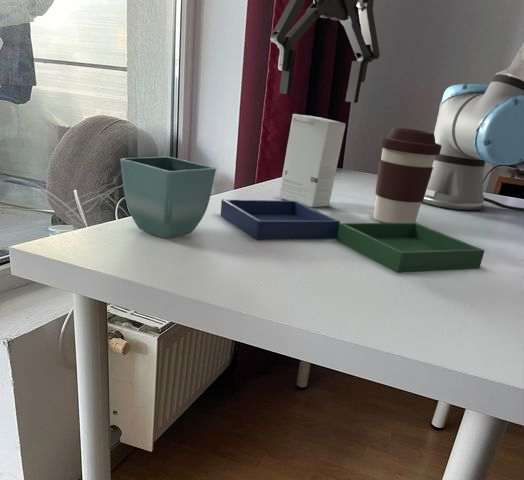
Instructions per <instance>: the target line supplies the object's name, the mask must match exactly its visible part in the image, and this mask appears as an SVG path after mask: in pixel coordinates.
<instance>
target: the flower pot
mask: <svg viewBox="0 0 524 480" xmlns="http://www.w3.org/2000/svg"><path fill="white" fill-rule="evenodd" d="M119 161H120V169H121V178H122V179H121V180H122V189H123V195H124V199H125V203H126V207H127V209H128V211H129V214H130V216H131V218H132V220H133V221H134V224H135V225H136V226H137V228H138V229H139V230H140V231H143V232H146V233H148V234H153V235H155V236H158V237H161V238H163V239H171V238H175V237H180V236H185V235H190V234H192V233H193V232H194V230H195V229H196V228H197V227H198V225H199V224H200V222H201V221H202V219H203V217H204V216H205V214H206V211H207V208H208V207H209V204H210V200H211V199H210V198H211V195H212V190H213V187H214V180H215V176H216V171H217V168H216V167H213V166H209V165H205V164H201V163H197V162H193V161H189V160H185V159H180V158H176V157H173V156H147V157H145V156H144V157H122V158H120V159H119Z"/></svg>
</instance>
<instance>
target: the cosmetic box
mask: <svg viewBox="0 0 524 480" xmlns="http://www.w3.org/2000/svg"><path fill="white" fill-rule="evenodd" d="M345 129H346V123H345V122H341V121H338V120H333V119H328V118H324V117H320V116H319V117H318V116H313V115H306V114H297V113H292V117H291V123H290V129H289V135H288V139H287V146H286V151H285V158H284V164H283V169H282V176H281V180H280V188H279V193H278V198H279V199H281V200H283V201H298V202H300V203H302V204H304V205H306V206H308V207H310V208H318V207H319V208H320V207H326V206H327V207H328V206H330V202H331V196H332V194H333V193H332V192H333V188H334V183H335V177H336V173H337V168H338V163H339V159H340V154H341V149H342V144H343V138H344V134H345Z"/></svg>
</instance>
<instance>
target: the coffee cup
mask: <svg viewBox="0 0 524 480" xmlns="http://www.w3.org/2000/svg"><path fill="white" fill-rule="evenodd" d="M379 147H380V148H382V150H381V157H380V159H379V162H378V169H377V178H376V185H375V202H374V209H373V218H374V220H376V221H377V222H379V223H416V221H417V217H418V215H419V212H420V208H421V205H422V203H423V202H422V201H423V199H424V196H425V193H426V190H427V186H428V183H429V180H430V177H431V173H432V170H433V167H432V166H433V162H434V159H435V156H436V155H439V154H440V151H441V147H442V146H441V145H440V144H437V143H435V136H434V132H430V131H426V130H419V129H412V128H402V127H393V128H392V129H391V131H389V134H388V135H387V136H385V135H384V136H381V137H380V141H379Z"/></svg>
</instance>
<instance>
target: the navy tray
mask: <svg viewBox="0 0 524 480" xmlns="http://www.w3.org/2000/svg"><path fill="white" fill-rule="evenodd" d="M220 217H221V218H223V219H224V220H225V221H227V222H229V223H230V224H231V225H233V226H234V227H236V228H237V229H239V230H241V231H242V232H243V233H245V234H246V235H248V236H250V237H251V238H252V239H254V240H256V241H293V240H295V241H296V240H297V241H298V240H337V235H338V229H339V223H341V221H340V220H338V219H337V218H334V217H332V216H330V215H327V214H325V213H323V212H321V211H319V210H317V209H315V208H313V207H309V206H307V205H304V204H302V203H300V202H298V201H288V200H277V199H276V200H272V199H271V200H268V199H225V198H223V199H221V205H220Z"/></svg>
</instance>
